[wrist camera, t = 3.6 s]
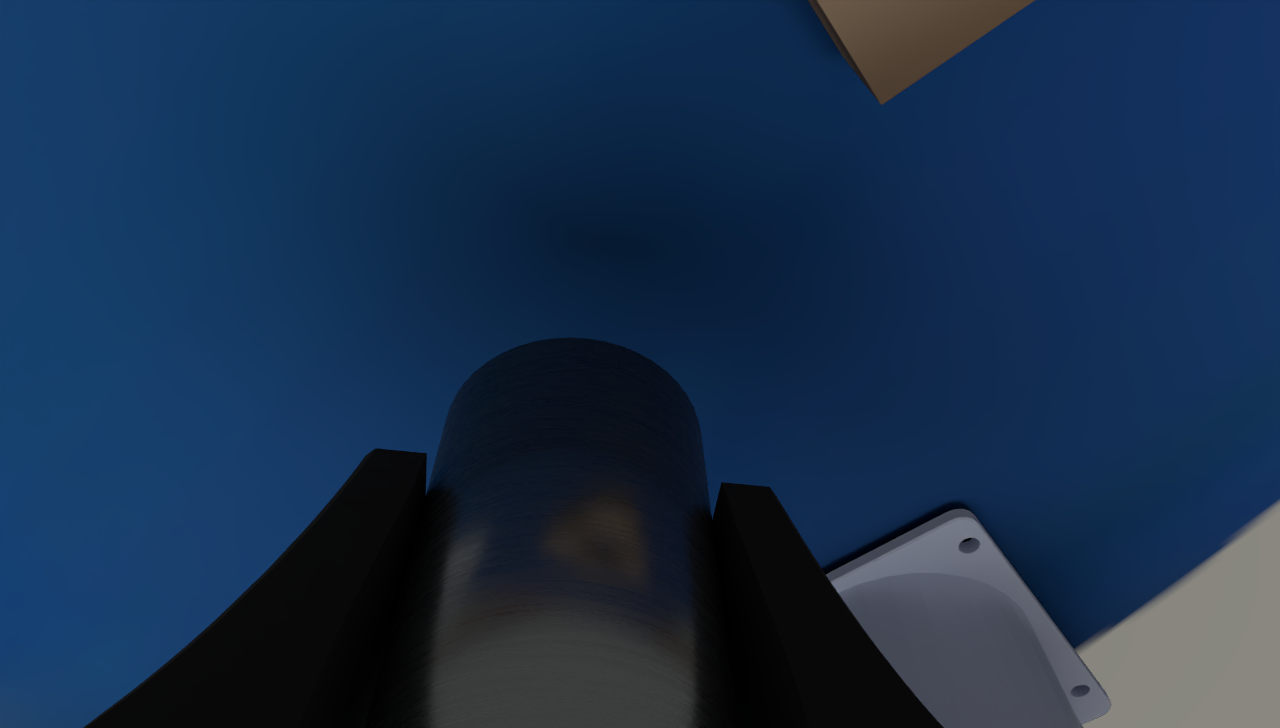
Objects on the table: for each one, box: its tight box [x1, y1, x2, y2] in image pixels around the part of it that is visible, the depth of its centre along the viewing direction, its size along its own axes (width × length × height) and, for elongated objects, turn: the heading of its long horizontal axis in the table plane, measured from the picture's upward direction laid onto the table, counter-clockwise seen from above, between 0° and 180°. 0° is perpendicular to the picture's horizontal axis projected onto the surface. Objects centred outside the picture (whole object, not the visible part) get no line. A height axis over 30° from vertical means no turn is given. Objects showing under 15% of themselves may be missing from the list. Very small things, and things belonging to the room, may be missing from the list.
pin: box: [364, 338, 739, 728], centre depth 10 cm, size 4×4×7 cm
